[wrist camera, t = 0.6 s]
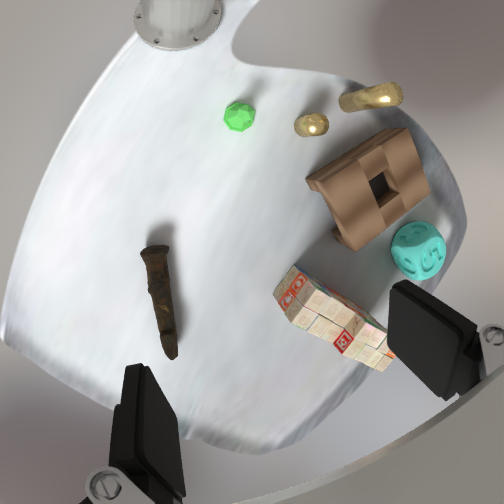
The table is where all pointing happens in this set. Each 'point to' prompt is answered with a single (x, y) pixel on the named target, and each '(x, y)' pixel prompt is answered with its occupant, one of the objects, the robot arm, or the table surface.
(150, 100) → the table surface
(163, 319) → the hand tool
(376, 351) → the stack of blocks
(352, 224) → the bridge board
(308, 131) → the short pin
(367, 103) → the tall pin
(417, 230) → the decorative dice
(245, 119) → the game piece
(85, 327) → the table surface
